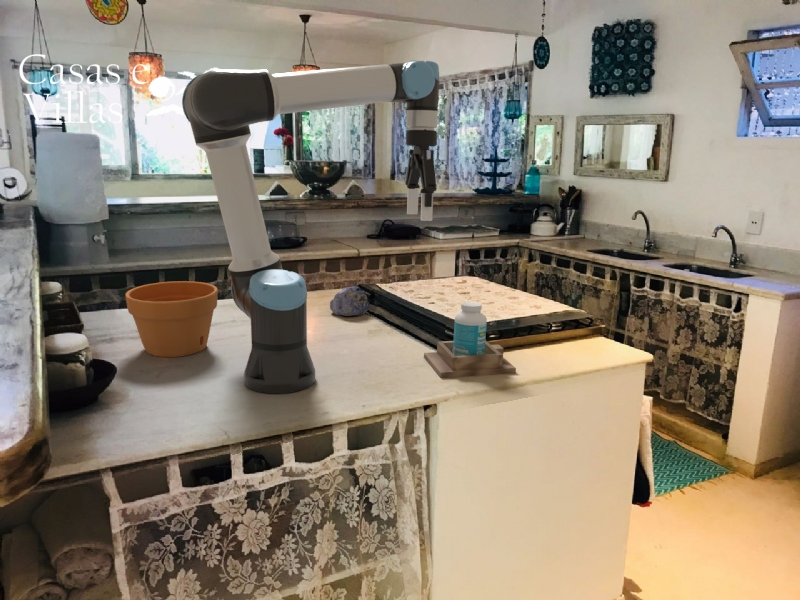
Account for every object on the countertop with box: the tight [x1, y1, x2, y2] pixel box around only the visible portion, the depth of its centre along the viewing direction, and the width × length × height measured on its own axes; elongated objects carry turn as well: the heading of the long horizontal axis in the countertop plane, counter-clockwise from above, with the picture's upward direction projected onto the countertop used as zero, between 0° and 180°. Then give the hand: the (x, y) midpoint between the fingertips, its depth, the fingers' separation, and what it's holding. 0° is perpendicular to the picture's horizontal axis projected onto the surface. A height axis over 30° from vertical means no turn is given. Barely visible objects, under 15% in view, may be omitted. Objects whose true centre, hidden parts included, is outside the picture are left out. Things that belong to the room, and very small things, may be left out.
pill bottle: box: [453, 301, 488, 356], centre depth 151 cm, size 8×7×14 cm
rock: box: [329, 285, 370, 317], centre depth 196 cm, size 11×10×10 cm
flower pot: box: [125, 280, 219, 358], centre depth 158 cm, size 21×21×15 cm
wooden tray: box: [423, 339, 517, 378], centre depth 152 cm, size 18×14×4 cm
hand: (419, 217), depth 161 cm, fingers open, 13 cm apart
